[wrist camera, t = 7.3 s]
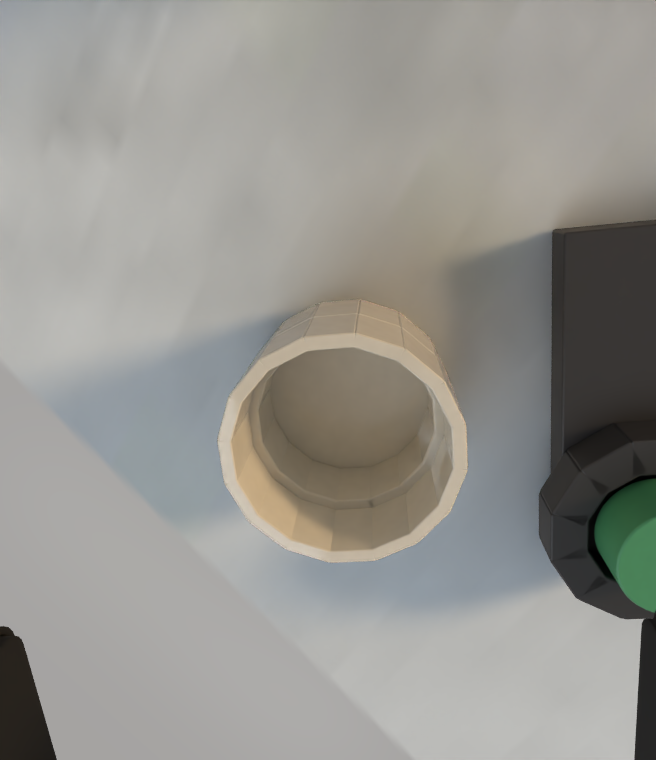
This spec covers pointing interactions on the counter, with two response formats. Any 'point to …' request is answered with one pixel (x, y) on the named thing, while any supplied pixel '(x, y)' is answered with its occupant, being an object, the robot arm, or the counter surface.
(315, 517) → the cream cup
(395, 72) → the counter surface
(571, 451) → the scale
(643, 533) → the button
